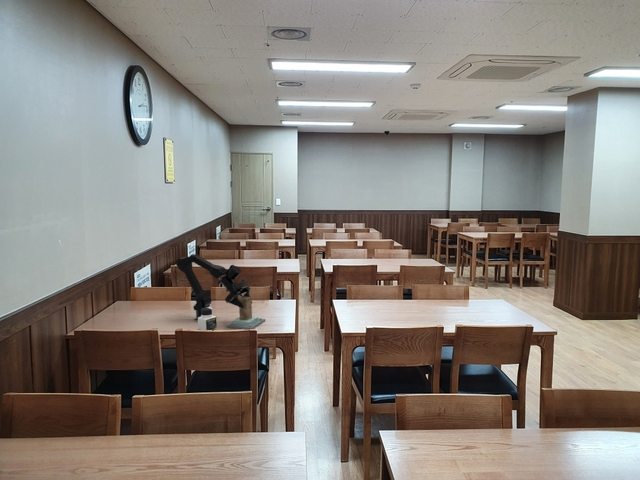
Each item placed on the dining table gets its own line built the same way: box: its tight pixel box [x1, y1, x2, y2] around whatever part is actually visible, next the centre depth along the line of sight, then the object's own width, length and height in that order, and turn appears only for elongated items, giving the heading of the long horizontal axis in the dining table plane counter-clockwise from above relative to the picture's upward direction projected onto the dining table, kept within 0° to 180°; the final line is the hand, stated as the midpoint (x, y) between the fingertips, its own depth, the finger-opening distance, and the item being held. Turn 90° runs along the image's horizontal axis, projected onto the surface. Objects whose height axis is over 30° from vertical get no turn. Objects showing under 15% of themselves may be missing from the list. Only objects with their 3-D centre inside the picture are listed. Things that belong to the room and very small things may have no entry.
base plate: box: [225, 315, 266, 330], centre depth 248 cm, size 16×16×3 cm
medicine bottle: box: [197, 307, 218, 331], centre depth 240 cm, size 7×7×12 cm
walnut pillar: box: [238, 296, 253, 320], centre depth 247 cm, size 5×5×12 cm
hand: (247, 305), depth 247 cm, fingers open, 9 cm apart
